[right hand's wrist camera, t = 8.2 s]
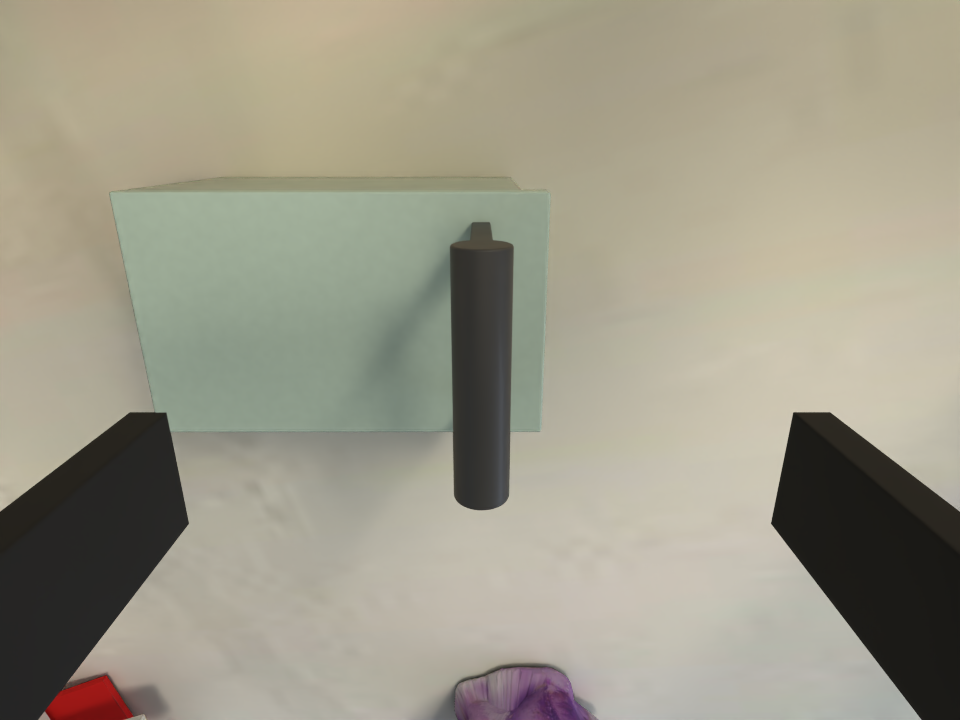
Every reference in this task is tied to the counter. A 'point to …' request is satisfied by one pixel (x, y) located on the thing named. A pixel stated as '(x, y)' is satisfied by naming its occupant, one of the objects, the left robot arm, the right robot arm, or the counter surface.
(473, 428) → the lid
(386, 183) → the chest
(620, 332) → the counter surface
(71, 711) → the toy
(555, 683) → the figurine
